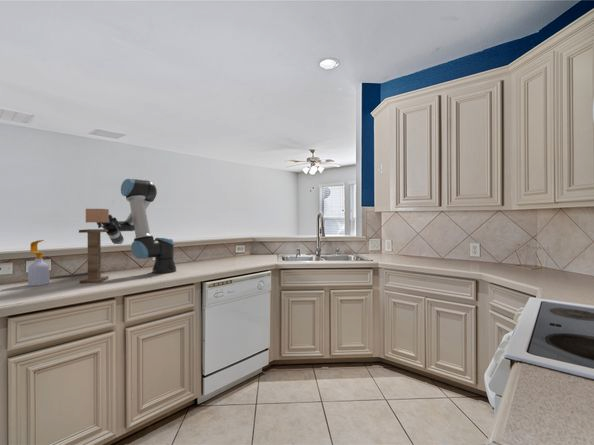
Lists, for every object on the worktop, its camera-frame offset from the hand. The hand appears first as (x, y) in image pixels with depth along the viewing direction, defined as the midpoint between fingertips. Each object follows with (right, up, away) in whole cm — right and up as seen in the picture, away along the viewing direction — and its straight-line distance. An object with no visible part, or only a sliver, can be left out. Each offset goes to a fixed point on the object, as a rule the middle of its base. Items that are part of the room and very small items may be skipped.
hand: (101, 213), depth 198 cm
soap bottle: (-21, -40, -22) cm, 51 cm away
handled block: (0, -6, 0) cm, 6 cm away
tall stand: (+3, -40, -12) cm, 42 cm away
